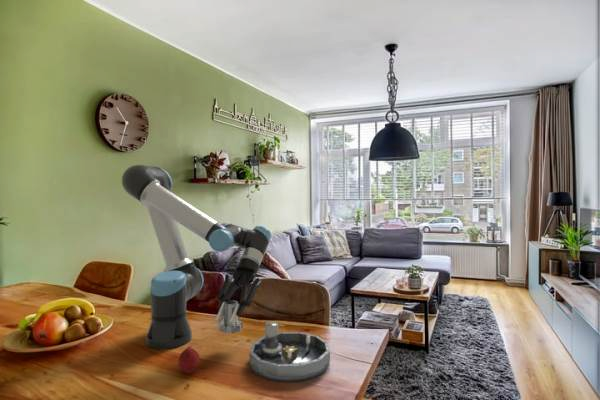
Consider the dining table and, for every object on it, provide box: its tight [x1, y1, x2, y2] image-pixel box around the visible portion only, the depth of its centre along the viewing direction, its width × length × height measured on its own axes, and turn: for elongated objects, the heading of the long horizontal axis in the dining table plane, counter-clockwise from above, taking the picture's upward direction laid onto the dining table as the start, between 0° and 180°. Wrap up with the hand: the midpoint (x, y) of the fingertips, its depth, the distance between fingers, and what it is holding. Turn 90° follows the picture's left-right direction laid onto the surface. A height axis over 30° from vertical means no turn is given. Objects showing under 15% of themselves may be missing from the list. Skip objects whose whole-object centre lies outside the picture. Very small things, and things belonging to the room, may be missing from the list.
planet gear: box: [218, 299, 243, 335], centre depth 119 cm, size 8×8×9 cm
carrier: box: [249, 321, 331, 383], centre depth 109 cm, size 24×24×10 cm
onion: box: [177, 344, 200, 374], centre depth 103 cm, size 6×6×8 cm
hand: (224, 323), depth 115 cm, fingers closed on planet gear, 4 cm apart
